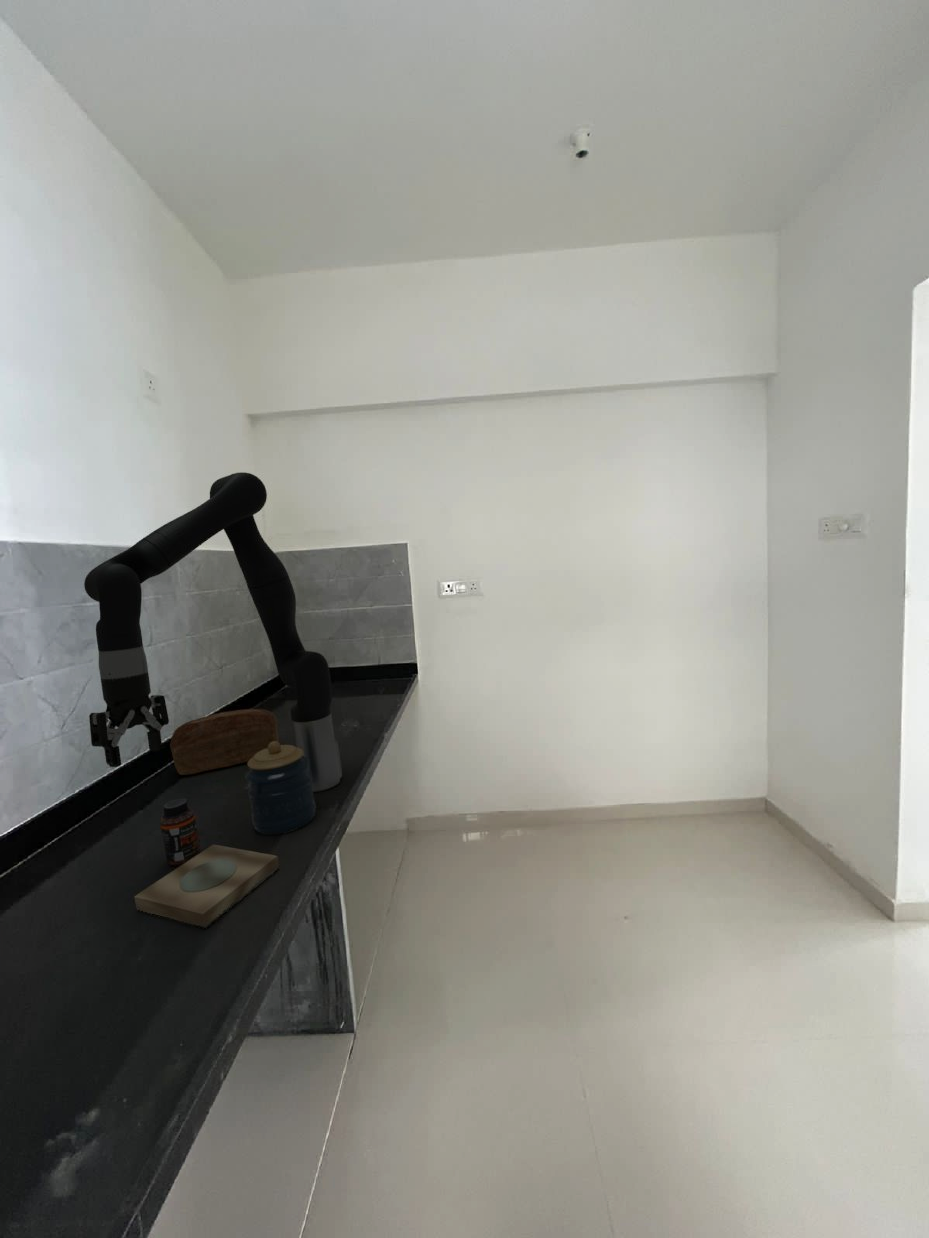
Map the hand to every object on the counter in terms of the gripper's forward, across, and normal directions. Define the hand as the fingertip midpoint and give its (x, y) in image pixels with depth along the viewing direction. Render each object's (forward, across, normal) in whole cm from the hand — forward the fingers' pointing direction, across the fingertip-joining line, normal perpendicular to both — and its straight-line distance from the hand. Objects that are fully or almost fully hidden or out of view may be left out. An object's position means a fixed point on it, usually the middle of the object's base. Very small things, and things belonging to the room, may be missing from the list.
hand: (136, 757), depth 102 cm
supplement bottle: (+21, +3, -5) cm, 22 cm away
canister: (+20, +19, -17) cm, 32 cm away
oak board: (+21, -4, -18) cm, 28 cm away
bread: (+20, +47, +22) cm, 56 cm away
